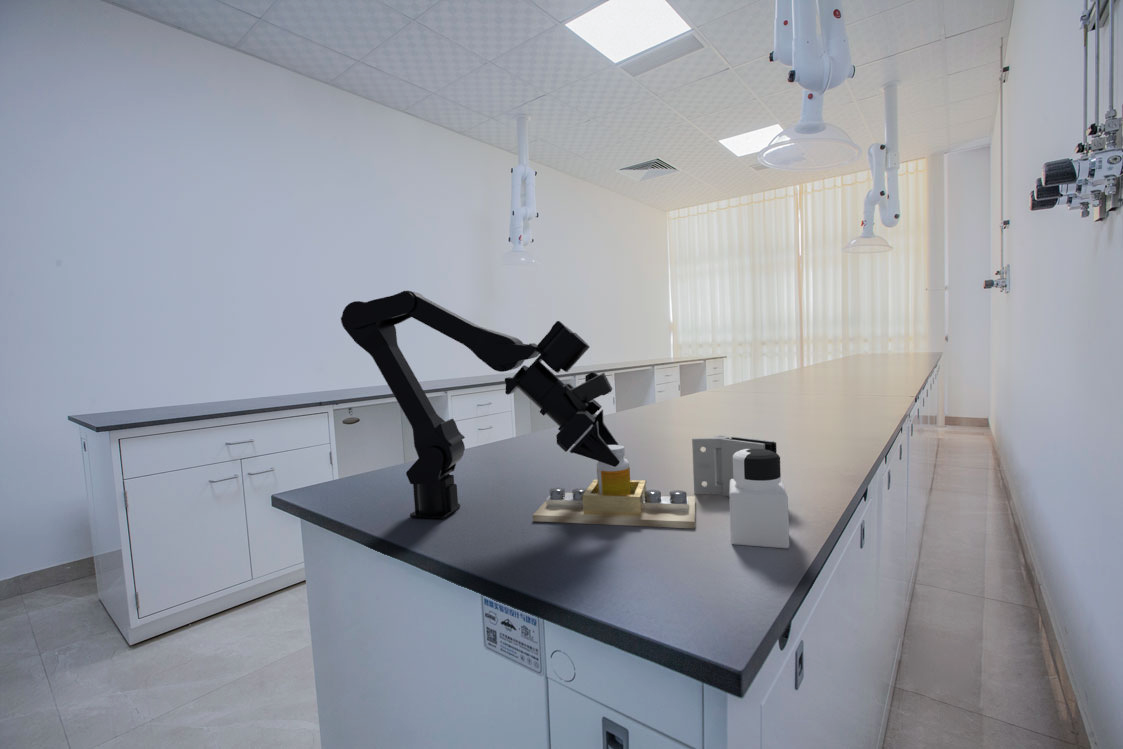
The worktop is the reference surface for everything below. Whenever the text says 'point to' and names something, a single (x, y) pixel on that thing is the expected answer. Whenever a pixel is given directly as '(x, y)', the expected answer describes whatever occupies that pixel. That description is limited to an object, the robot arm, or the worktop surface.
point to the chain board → (619, 517)
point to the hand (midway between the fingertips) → (618, 457)
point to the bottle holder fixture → (618, 500)
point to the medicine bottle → (758, 500)
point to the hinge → (720, 461)
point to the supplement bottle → (614, 474)
